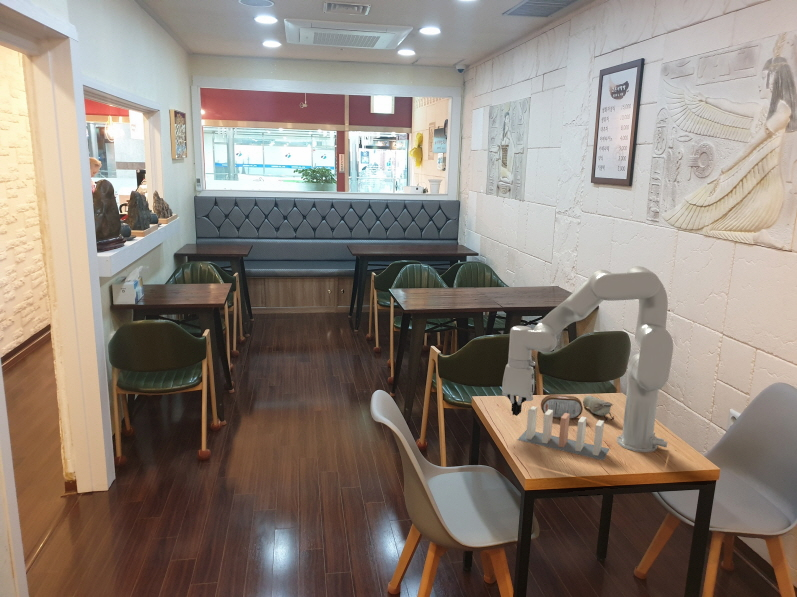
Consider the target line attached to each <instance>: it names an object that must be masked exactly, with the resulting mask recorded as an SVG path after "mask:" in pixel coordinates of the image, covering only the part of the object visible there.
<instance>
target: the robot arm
mask: <svg viewBox="0 0 797 597" xmlns="http://www.w3.org/2000/svg"><path fill="white" fill-rule="evenodd" d="M664 286H665V285H664V284H663V282H662V281H661V280H660V279H659V276H658V275H657V274H655V273H654V272H653V271H651V270H650V269H648V268H647V267H644V266H638V265H637V266H634V267H633V266H632V267H631V268H629V269H628V270H627V272H621V273H619V272H618V273H613V272H611V271H608V270H606V269H599V270H596V271H595V272H593V273H592V274H591V275H589V277H588V278H586V280H584V281H583V282H582V284H580V286H578V287H577V288H576V290H574V292H572V293H571V294H570V295H569V296H568V297H566V299H565V300H564V301H562V302H560V303H559V305H557V306H556V307H554V308H553V309H552V310H551V311H549V313H548V314H546V315H545V316H544V317H543V318H542V319H541V320H540V321H539V322H538V323H537V324H536V326H534V328H533V329H532V328H531V327H529V326H526V325H515V326H513V327H511V328H510V331H509V345H508V361H507V364H506V365H505V369H504V373H503V378H502V384H501V385H502V388H501V390H502V391H501V395H502V396H503V397H506V398H507V399H509V401H510V404H511V412H512V416H516V417H518V415H520V414H521V413H522V405H523V403H524V402H532V401H533V400H534V396H533V395H534V393H535V371H534V367H535V366H536V362H535V361H534V360H533V359H532V352H533V351H536V352H541V353H550V352H552V351H553V350H555V349H556V347H557V345H558V339H557V336H558V335H559V334H560V333H561V332H562V331H563V330H564V329H565V328H566V327H568V326H569V325H570V324H572V323H575V322H578V321H582V320H584V319H586V318H587V317H588V316H590V315H591V313H592V312H593V311H594V310H595V309H596V308H597V307H599V305H600V304H602V303H603V302H604V301H606V302H607V301H612V302H613V301H628V300H629V301H631V300H632V301H633V300H638V315H637V322H636V327H635V332H634V340H635V343H636V344H637V346H638V347H639V352H638V353H635V354H634V355H632V357H630V359H629V361H628V364H627V380H626V381H627V384H626V385H627V386H626V396H625V404H624V405H625V406H624V416H623V417H624V418H623V428H622V434H620V435H618V436H617V437H616V443H617V444H618V445H619V446H620V447H621V448H624V449H626V450H629V451H633V452H638V453H652V452H655V451H656V450H657V449H658V446H660V447H661V448H662V447H663V448H665V449H666V448H668V441H666V440H665V438H661V437H658V436H656V432H655V431H654V430H655V425H656V424H655V423H656V417H657V416H656V415H657V406H658V399H659V391H660V390H662V389H663V388H664V387H665V386H666V385H667V383H668V381H669V377H670V372H671V367H672V361H673V360H672V358H673V352H674V341H673V337H672V335H671V333H670V331H668V330H667V328H666V327H667V319H668V307H669V306H668V305H669V301H668V294H667V291H666V287H664ZM517 397H518V398H517Z"/></svg>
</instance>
